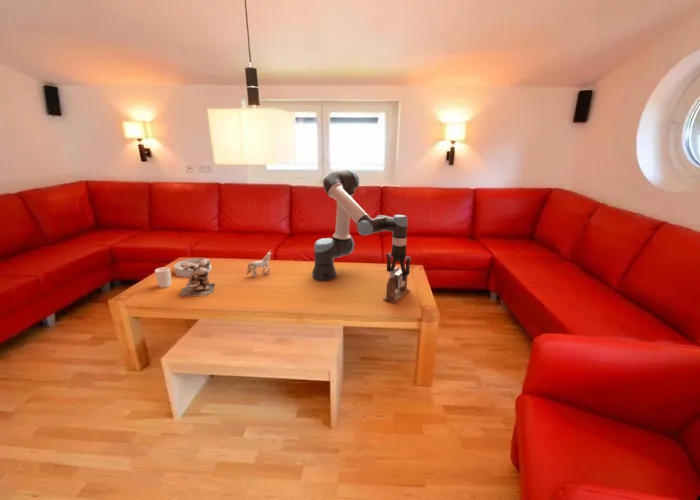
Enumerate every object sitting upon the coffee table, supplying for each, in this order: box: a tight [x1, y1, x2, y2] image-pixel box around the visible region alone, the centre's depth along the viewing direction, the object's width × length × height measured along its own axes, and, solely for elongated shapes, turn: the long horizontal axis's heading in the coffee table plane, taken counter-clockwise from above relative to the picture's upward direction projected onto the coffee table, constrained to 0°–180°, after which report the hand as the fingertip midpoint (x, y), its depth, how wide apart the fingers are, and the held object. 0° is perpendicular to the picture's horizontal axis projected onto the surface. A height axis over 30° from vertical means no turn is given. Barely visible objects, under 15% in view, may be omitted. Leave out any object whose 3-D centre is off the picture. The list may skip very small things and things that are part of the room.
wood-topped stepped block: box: [389, 266, 405, 289], centre depth 195 cm, size 5×9×9 cm, turn 148°
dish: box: [174, 257, 213, 278], centre depth 232 cm, size 22×22×5 cm
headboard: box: [382, 275, 410, 304], centre depth 197 cm, size 7×19×14 cm, turn 148°
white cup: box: [154, 266, 172, 289], centre depth 209 cm, size 8×8×10 cm
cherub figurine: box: [179, 258, 216, 298], centre depth 202 cm, size 18×18×18 cm
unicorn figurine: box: [246, 249, 273, 278], centre depth 225 cm, size 7×20×13 cm, turn 138°
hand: (397, 284), depth 197 cm, fingers closed on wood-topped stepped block, 5 cm apart
